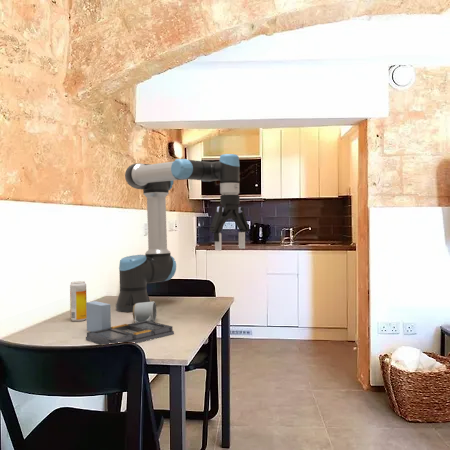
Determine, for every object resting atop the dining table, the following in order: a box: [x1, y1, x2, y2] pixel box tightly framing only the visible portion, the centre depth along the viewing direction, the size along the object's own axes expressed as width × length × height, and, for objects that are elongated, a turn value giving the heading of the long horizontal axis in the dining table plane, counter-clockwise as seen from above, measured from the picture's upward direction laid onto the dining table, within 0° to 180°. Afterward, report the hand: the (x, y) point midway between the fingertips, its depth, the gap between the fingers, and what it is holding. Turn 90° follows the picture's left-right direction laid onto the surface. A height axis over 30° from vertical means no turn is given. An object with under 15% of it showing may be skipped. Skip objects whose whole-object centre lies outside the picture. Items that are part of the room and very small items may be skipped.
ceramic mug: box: [132, 301, 158, 323], centre depth 176 cm, size 11×8×8 cm
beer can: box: [69, 280, 88, 322], centre depth 181 cm, size 6×6×15 cm
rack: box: [85, 321, 175, 345], centre depth 154 cm, size 16×24×3 cm, turn 136°
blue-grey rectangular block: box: [86, 300, 112, 332], centre depth 162 cm, size 10×4×10 cm, turn 46°
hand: (230, 249), depth 179 cm, fingers open, 13 cm apart
